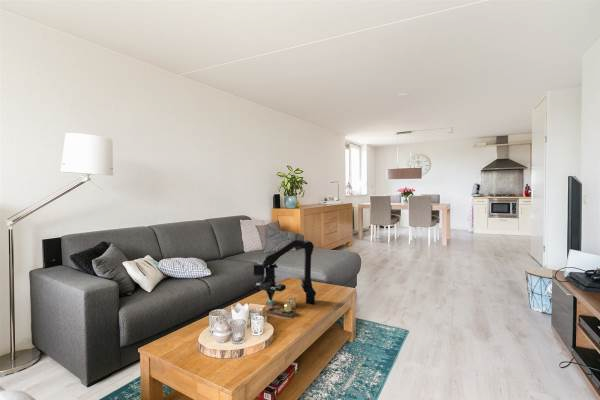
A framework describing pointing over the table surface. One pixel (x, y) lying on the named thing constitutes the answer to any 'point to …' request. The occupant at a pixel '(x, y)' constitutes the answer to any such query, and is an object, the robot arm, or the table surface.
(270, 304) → the button housing
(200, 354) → the table surface
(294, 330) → the table surface
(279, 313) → the brown compartment tray
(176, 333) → the table surface
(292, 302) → the cylinder
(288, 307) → the cylinder
